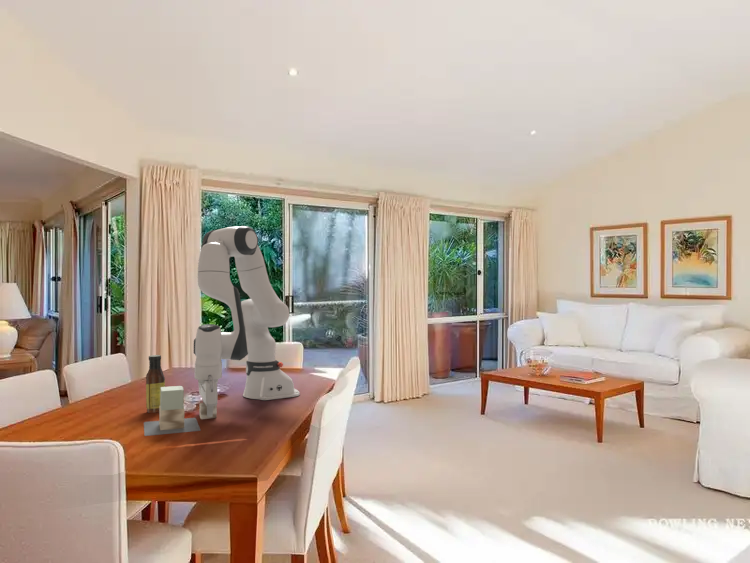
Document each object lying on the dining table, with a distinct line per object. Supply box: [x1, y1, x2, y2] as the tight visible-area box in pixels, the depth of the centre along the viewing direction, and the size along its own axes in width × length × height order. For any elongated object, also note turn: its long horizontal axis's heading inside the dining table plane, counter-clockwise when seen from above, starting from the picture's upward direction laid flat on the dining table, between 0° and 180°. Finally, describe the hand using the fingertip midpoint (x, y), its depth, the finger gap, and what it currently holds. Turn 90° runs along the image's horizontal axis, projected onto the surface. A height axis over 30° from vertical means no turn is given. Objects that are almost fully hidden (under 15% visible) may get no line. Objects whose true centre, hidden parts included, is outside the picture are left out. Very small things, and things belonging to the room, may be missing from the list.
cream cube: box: [198, 402, 218, 420], centre depth 183 cm, size 5×5×5 cm
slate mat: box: [143, 417, 201, 437], centre depth 171 cm, size 16×16×1 cm
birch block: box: [158, 406, 185, 430], centre depth 171 cm, size 7×7×6 cm
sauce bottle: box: [145, 354, 166, 414], centre depth 190 cm, size 7×6×20 cm
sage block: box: [160, 385, 185, 411], centre depth 171 cm, size 6×6×6 cm
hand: (207, 413), depth 183 cm, fingers open, 8 cm apart
